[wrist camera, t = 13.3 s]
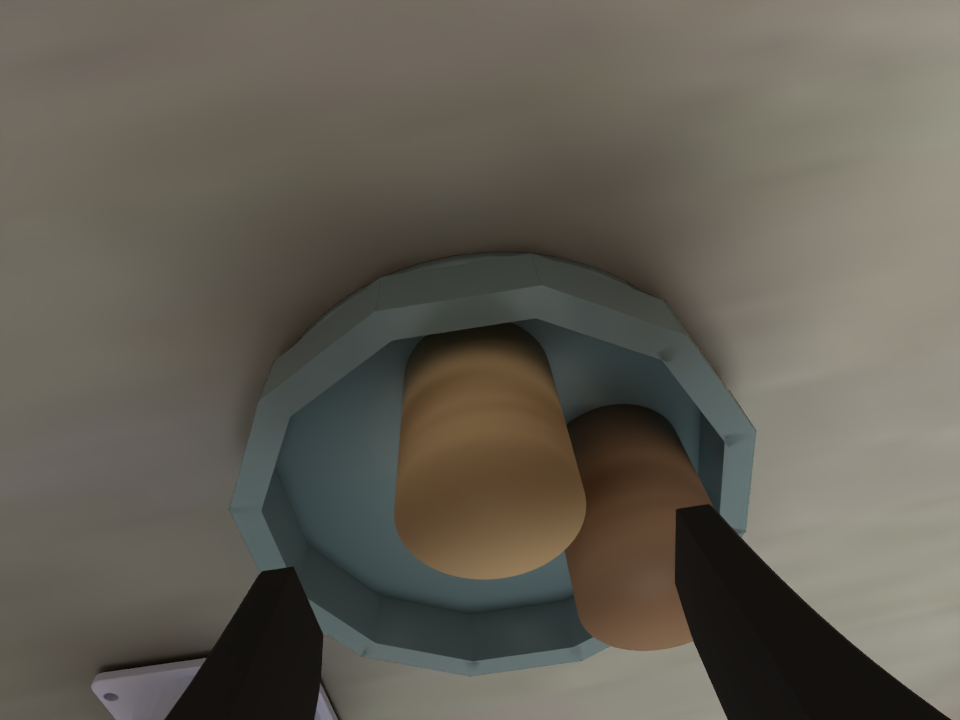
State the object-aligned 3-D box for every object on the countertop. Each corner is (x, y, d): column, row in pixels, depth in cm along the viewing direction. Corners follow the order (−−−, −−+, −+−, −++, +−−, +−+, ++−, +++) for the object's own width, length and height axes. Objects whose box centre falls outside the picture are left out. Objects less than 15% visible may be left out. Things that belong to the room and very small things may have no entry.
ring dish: (709, 580, 24) (735, 639, 22) (329, 634, 24) (320, 697, 22) (733, 210, 16) (774, 248, 14) (183, 298, 17) (148, 346, 15)
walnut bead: (678, 496, 21) (741, 637, 16) (552, 515, 21) (582, 661, 17) (680, 394, 19) (753, 526, 14) (539, 415, 19) (571, 553, 14)
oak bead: (562, 421, 19) (599, 558, 15) (427, 451, 19) (424, 594, 15) (535, 300, 17) (569, 419, 12) (384, 336, 17) (367, 465, 13)
